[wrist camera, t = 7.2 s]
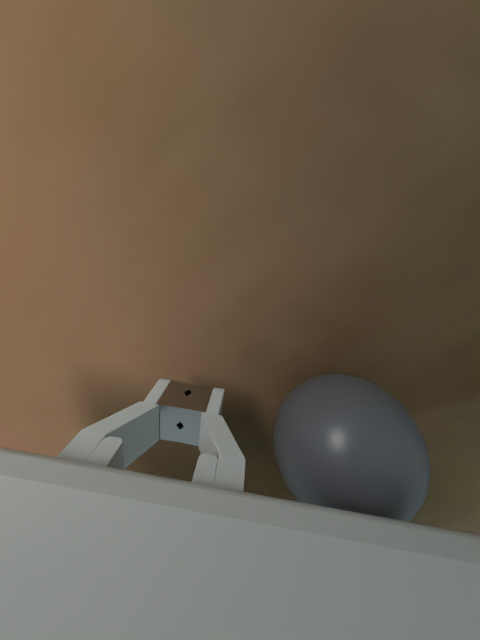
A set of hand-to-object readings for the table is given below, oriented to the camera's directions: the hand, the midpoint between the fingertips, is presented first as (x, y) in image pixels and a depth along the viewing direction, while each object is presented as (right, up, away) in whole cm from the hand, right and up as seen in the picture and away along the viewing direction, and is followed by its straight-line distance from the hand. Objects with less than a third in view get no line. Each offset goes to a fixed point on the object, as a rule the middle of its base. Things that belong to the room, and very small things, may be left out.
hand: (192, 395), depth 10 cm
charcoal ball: (+6, -2, -1) cm, 7 cm away
